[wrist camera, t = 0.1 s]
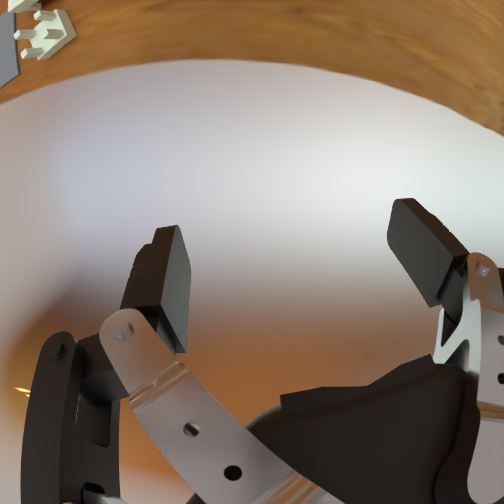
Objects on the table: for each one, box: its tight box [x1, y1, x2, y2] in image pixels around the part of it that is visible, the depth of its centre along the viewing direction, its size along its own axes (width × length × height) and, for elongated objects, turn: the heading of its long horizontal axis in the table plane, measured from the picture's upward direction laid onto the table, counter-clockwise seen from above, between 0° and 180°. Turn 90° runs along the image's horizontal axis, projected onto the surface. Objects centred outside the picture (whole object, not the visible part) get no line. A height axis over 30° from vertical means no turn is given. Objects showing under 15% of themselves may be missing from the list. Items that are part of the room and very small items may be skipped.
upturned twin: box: [14, 9, 77, 60], centre depth 18 cm, size 6×6×7 cm
